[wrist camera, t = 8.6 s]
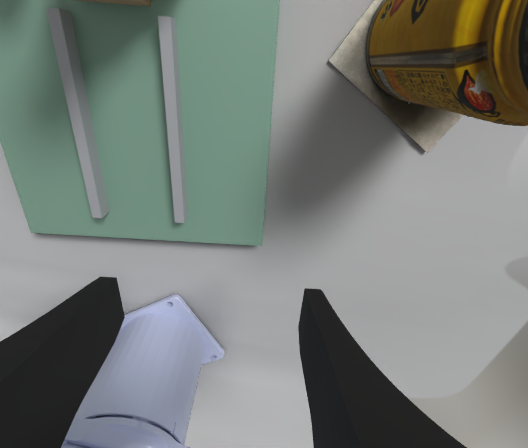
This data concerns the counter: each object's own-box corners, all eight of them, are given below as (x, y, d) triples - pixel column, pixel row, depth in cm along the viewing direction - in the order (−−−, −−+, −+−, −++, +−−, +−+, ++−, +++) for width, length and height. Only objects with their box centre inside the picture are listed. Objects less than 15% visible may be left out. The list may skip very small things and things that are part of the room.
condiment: (432, -78, 14) (897, -475, 4) (531, 47, 17) (988, 17, 6) (327, 60, 17) (427, 55, 7) (424, 151, 20) (614, 256, 9)
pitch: (262, 237, 22) (261, 253, 20) (42, 224, 22) (20, 240, 20) (301, -321, 11) (308, -401, 9) (-143, -366, 11) (-231, -460, 9)
